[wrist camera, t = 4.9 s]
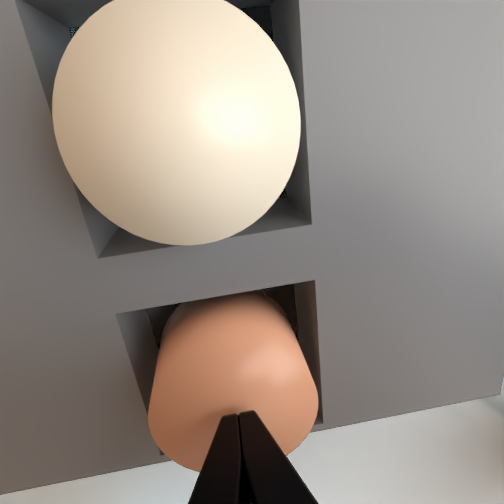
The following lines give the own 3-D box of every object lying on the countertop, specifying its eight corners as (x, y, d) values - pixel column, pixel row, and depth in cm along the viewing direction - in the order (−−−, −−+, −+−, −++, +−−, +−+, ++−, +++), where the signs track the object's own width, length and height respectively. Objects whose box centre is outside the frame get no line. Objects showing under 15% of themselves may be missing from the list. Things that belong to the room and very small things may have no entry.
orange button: (286, 275, 11) (314, 329, 8) (296, 382, 13) (321, 456, 10) (146, 298, 11) (127, 363, 8) (176, 405, 13) (168, 488, 10)
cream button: (262, 15, 9) (290, -28, 6) (279, 194, 10) (307, 227, 7) (75, 37, 8) (10, 2, 5) (125, 218, 10) (95, 261, 7)
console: (535, -449, 7) (735, -782, 5) (445, 342, 15) (499, 394, 12) (-445, -425, 6) (-984, -867, 3) (8, 423, 14) (-40, 502, 11)
